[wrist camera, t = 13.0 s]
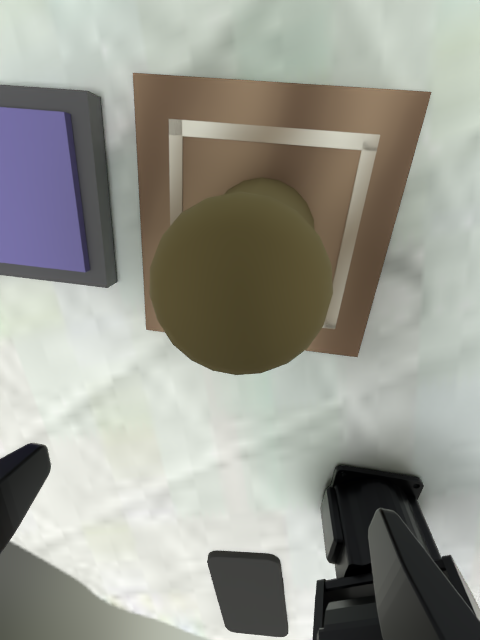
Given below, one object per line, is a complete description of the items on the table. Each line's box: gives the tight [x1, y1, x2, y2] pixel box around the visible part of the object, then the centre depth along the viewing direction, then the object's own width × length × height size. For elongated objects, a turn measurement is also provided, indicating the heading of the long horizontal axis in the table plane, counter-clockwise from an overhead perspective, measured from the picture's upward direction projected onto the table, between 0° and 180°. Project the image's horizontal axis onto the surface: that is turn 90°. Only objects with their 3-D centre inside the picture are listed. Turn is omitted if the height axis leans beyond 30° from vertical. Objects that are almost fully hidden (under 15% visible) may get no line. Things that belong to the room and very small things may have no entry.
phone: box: [207, 551, 288, 637], centre depth 33 cm, size 7×1×15 cm
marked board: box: [133, 73, 431, 357], centre depth 18 cm, size 14×14×1 cm
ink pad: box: [0, 85, 117, 288], centre depth 18 cm, size 10×10×2 cm
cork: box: [150, 177, 333, 375], centre depth 12 cm, size 6×6×11 cm
